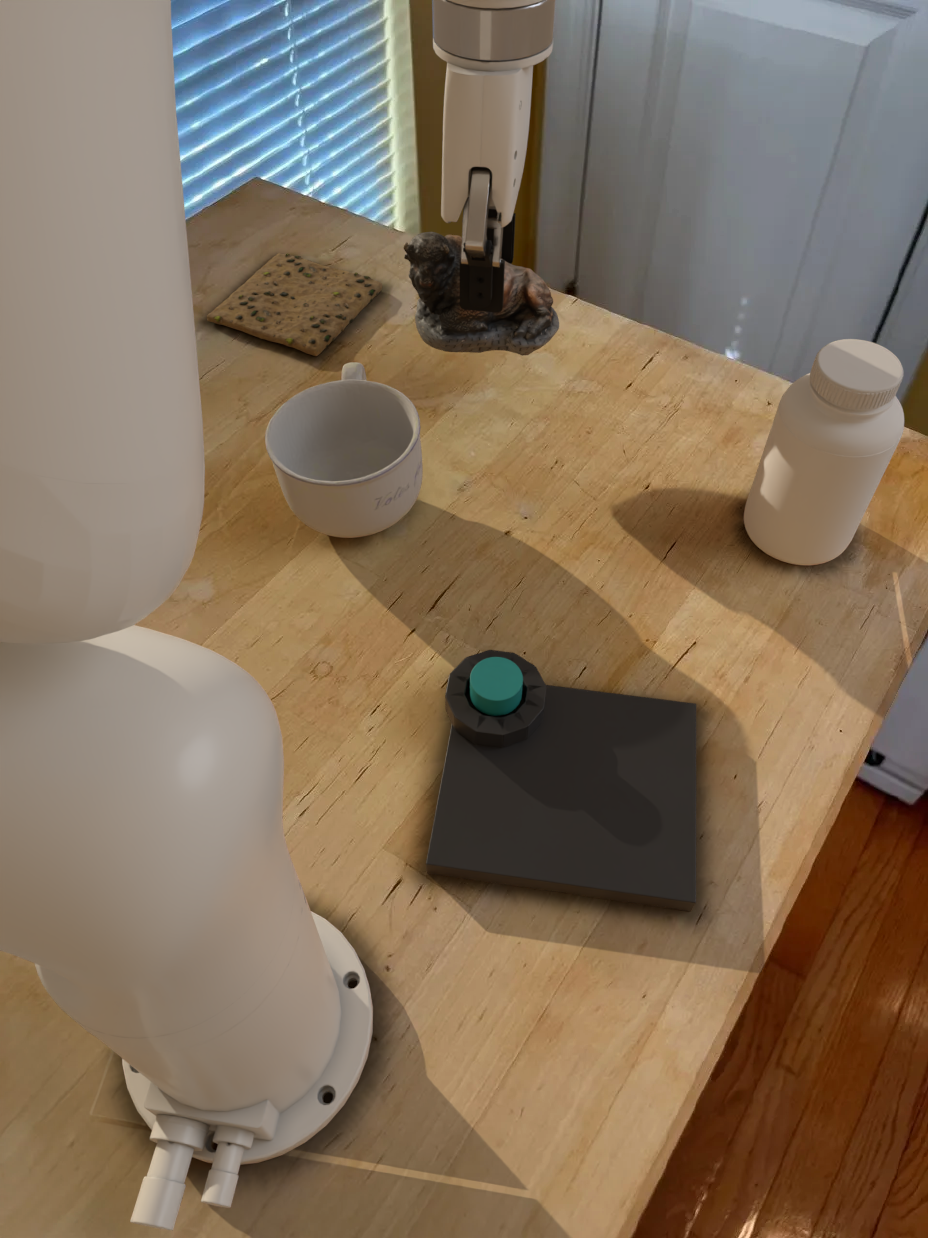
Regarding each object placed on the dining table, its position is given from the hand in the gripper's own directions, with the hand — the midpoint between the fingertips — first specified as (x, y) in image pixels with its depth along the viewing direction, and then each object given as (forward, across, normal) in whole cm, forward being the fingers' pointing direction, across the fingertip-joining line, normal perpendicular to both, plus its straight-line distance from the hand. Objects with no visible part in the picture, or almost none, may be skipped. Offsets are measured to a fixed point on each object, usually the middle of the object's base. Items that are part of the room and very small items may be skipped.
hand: (487, 282), depth 72 cm
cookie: (+10, -10, -19) cm, 24 cm away
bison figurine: (+6, 0, 0) cm, 6 cm away
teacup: (+11, +14, -8) cm, 19 cm away
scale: (+11, +36, +10) cm, 39 cm away
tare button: (+8, +32, +5) cm, 33 cm away
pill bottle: (+11, +12, +25) cm, 30 cm away
